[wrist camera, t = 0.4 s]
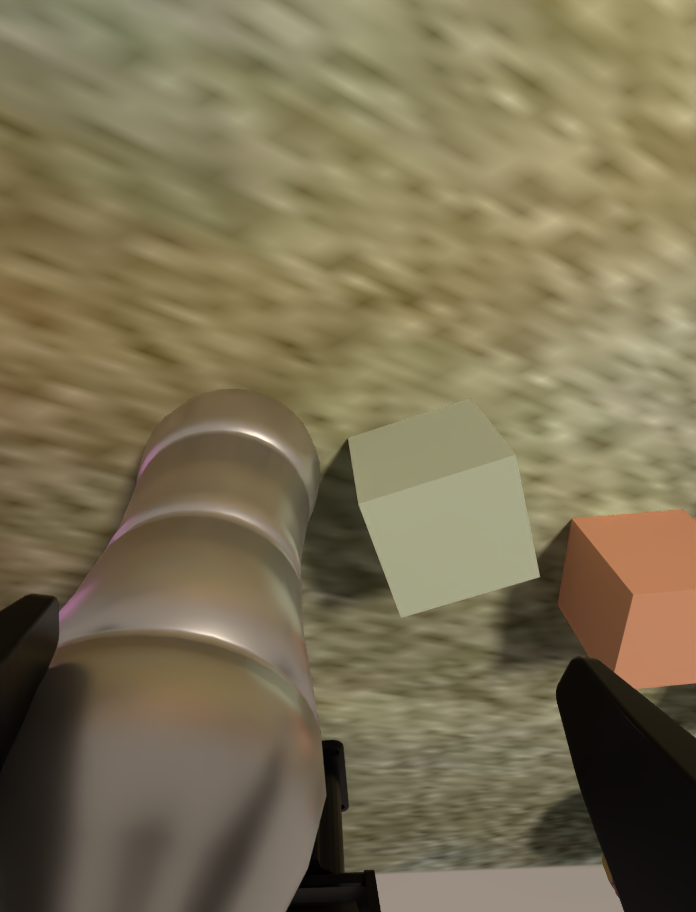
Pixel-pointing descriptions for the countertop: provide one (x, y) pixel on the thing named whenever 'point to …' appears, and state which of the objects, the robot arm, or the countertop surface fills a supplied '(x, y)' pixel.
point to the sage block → (443, 507)
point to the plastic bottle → (179, 688)
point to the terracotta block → (634, 594)
